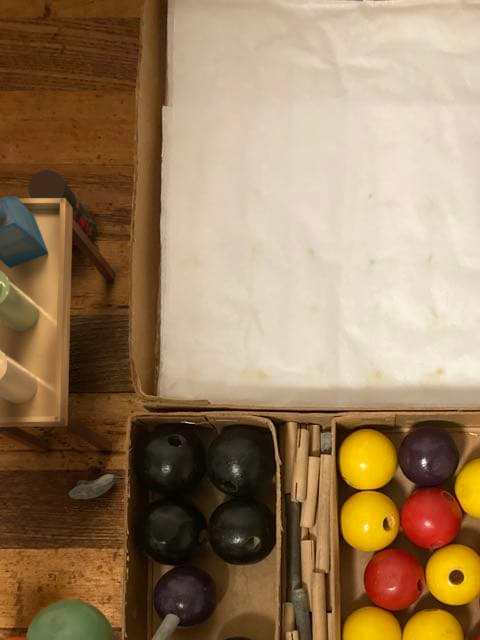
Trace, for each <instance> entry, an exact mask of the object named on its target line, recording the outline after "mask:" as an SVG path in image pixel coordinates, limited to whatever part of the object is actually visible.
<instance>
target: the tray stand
mask: <svg viewBox="0 0 480 640" xmlns="http://www.w3.org/2000/svg"><path fill="white" fill-rule="evenodd" d="M18 199H19V200H20V201H21V202H22V203H23V204H24V205H25V207H26V208H27V209H28V210H29V211H30V212H31V213H32V215H33V216H34V217H35V219H36V222H37V224H38V227H39V230H40V232H41V235H42V237H43V240H44V243H45V245H46V248H47V250H48V254H46V255H43V256H41V257H38V258H35V259H33V260H30V261H27V262H25V263H22V264H19V265H17V266H14V267H12V268H9V267H8V266H7V265H6V264H5V263H4V262H2V261H1V260H0V271H2V272H3V273H4V274H5V275H6V276H7V277H9V278H10V279H11V280H12V281H13V282H14V283H15V284H16V285H17V286H19V287H20V288H21V289H22V290H23V291H24V292H25V293H26V294H27V295H29V296H30V297H31V298H32V299H33V300H34V301H35V302H36V303H37V305H38V308H39V318H38V321H37V323H36V324H35V325H34V326H33V327H32V328H30V329H29V330H26V331H22V332H18V331H13V330H11V329H9V328H8V327H7V326H5V325H4V324H3V323H1V322H0V350H1V351H3V352H4V353H6V354H7V355H8V356H10V357H11V358H13V359H14V360H16V361H17V362H19V363H20V364H21V365H23V366H24V367H26V368H27V369H29V370H30V371H31V372H32V373H33V374H34V375H35V377H36V380H37V390H36V393H35V395H34V396H33V397H32V398H31V399H30V400H29V401H27V402H25V403H21V404H14V403H10V402H8V401H6V400H5V399H3V398H1V397H0V434H1V435H3V436H5V437H7V438H9V439H11V440H13V441H15V442H18V443H19V444H22V445H24V446H26V447H28V448H30V449H32V450H34V451H35V452H38V453H49V442H47V441H45V440H43V439H42V438H39V437H37V436H36V435H34V434H32V433H31V432H28V431H26V430H24V429H22V427H23V428H26V427H28V428H30V427H31V428H32V427H33V428H34V427H35V428H37V427H60V428H62V429H64V430H66V431H67V432H68V433H70V434H72V435H74V436H76V437H77V438H79V439H81V440H83V441H84V442H86V443H88V444H89V445H91V446H92V447H95V448H96V449H97V450H100V451H101V452H112V444H113V442H111V441H110V440H109V439H107V438H105V437H104V436H103V435H101V434H99V433H98V432H96V431H95V430H93V429H91V427H88V426H87V425H85V424H83V423H82V422H80V421H79V420H78V419H76V418H75V417H73V416H71V415H70V414H69V383H70V382H69V381H70V380H69V379H70V377H69V376H70V341H71V340H70V338H71V336H70V335H71V297H72V296H71V295H72V258H73V257H72V255H73V245H72V240H73V241H74V243H75V244H76V245H77V246H76V247H77V248H78V249H79V250H80V251H81V252H82V253H83V255H84V256H85V257H86V259H88V261H89V262H90V264H92V266H93V267H94V268H95V269H96V270H97V271H98V273H99V274H100V275H101V276H102V277H103V279H104V280H105V281H115V280H116V272H115V270H114V268H113V267H112V266H111V265H110V264H109V262H108V261H107V259H106V258H105V257H104V256H103V255H102V253H101V252H100V251H99V250H98V249H97V247H96V245H94V243H93V241H92V242H91V241H90V240H89V238H88V237H87V236H86V234H85V233H84V232H83V231H82V229H81V228H80V227H79V226H78V224H77V223H76V222H75V221H74V219H73V218H72V217H73V208H72V206H71V205H70V204H69V202H68V201H67V200H66V198H31V197H29V198H25V197H22V198H20V197H19V198H18Z"/></svg>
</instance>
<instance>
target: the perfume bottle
mask: <svg viewBox="0 0 480 640" xmlns="http://www.w3.org/2000/svg"><path fill="white" fill-rule="evenodd" d="M46 254H48V250H47V248H46V245H45V243H44V240H43V237H42V235H41V232H40V230H39V227H38V224H37V222H36V219H35V217H34V216H33V215H32V213H31V212H30V211H29V210H28V209H27V208H26V207H25V205H24V204H23V203H22V202H21V201H20V200H19V199H18V196H16V195H15V196H3V197H0V260H1V261H2V262H4V263H5V264H6V265H7V266H8V267H9V268H12V267H14V266H17V265H19V264H22V263H25V262H27V261H30V260H33V259H35V258H38V257H41V256H43V255H46Z"/></svg>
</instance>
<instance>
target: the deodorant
mask: <svg viewBox="0 0 480 640" xmlns="http://www.w3.org/2000/svg"><path fill="white" fill-rule="evenodd" d="M27 190H28V195H29V198H66V200H67V201H68V202H69V204H70V205H71V206H72V208H73V217H72V218H73V219H74V221H75V222H76V223H77V224H78V226H79V227H80V228H81V229H82V231H83V232H84V233H85V234H86V236H87V237H88V238H89V240H90V241H91V242H92V243H93V241H94V239H96V236H97V234H98V233H97V232H98V227H97V224H96V222H95V220H94V219H93V217H92V216H91V214H89V211H87V210H86V208H85V207H84V205H83V204H82V203H81V201H80V200H79V199H78V197H77V196H76V195H75V193H74V192H73V190H72V189H71V188H70V186H69V185H68V184H67V182H66V181H65V180H64V178H63V177H62V176H61V175H60V174H59V173H58V172H56V171H53V170H50V169H43V170H40V171H38V172H36V173H35V174H34V175H32V177H31V178H30V180H29V182H28V186H27ZM72 246H75V247H78V246H77V245H76V244H75V243H74V241H73V240H72Z"/></svg>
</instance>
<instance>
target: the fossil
mask: <svg viewBox="0 0 480 640" xmlns="http://www.w3.org/2000/svg"><path fill="white" fill-rule="evenodd" d="M116 480H117V478H116V476H115V475H114V474H112V473H111V474H110V473H107V474H104V475H101V476H100V477H98V478H97V479H94V480H90V481H88V480H85V479H82V480H78V481H76V486H75V487H74V488H72V489H71V490H70V491H69V492H68V496H69V497H70V498H72V499H75V500H90V499H94V498H97V497H99V496H102V495H103V494H105V493H107V492H108V491H109V490H110V489H111V488H112V487H113V486H114V484H115V482H116Z"/></svg>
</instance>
